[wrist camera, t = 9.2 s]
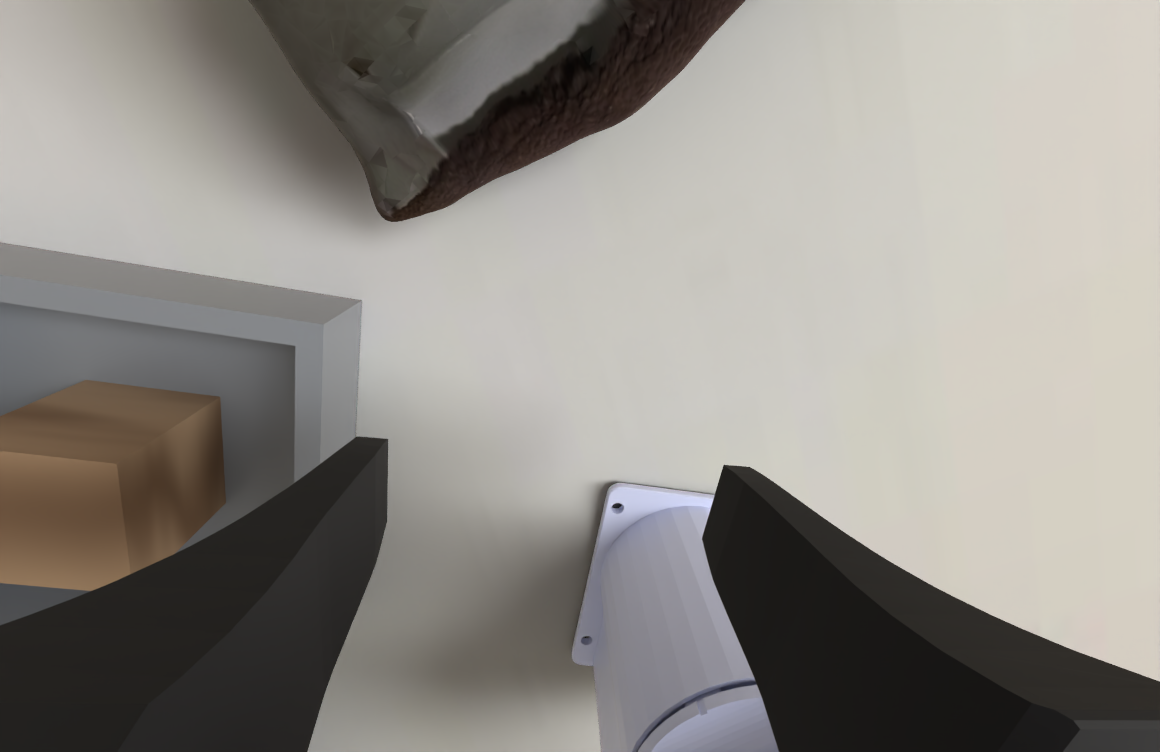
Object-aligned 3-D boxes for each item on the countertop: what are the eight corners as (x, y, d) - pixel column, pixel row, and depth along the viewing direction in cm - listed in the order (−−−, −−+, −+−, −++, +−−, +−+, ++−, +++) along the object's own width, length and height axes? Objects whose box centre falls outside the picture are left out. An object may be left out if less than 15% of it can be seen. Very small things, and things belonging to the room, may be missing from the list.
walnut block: (226, 502, 21) (133, 594, 16) (101, 489, 21) (-32, 580, 16) (220, 396, 20) (117, 463, 15) (86, 379, 19) (-65, 443, 14)
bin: (347, 603, 24) (314, 670, 20) (5, 569, 22) (-89, 636, 19) (361, 300, 19) (323, 324, 16) (-62, 232, 18) (-201, 243, 15)
